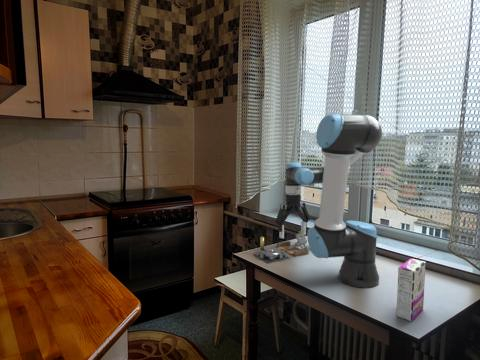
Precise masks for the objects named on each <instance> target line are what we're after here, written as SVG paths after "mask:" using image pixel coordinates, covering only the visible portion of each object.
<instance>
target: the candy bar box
mask: <svg viewBox="0 0 480 360" xmlns="http://www.w3.org/2000/svg"><path fill="white" fill-rule="evenodd" d="M426 263H427V262H426V261H424V260H421V259H415V258H409V259H408V260H406V261H405V262H403V263H402V264H401V265H400V266H399V267H398V268H397V269H398V271H397V273H398V274H397V295H396V296H397V297H396V317H398V318H400V319H402V320H403V319H404V320H406V321H409V322H413V321H414V320H415V319H416V317H417V316H418V315H420V313H421V312H422V311H423V310H424V299H425V298H424V297H425V282H426V281H425V279H426V265H427V264H426Z"/></svg>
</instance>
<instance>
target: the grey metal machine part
mask: <svg viewBox="0 0 480 360" xmlns="http://www.w3.org/2000/svg"><path fill="white" fill-rule="evenodd" d="M259 239H260V240H259V241H260V242H259V243H260V249H257V253H258V255H260V257H261V258H270V259H274V258H283V256H285V255H286V252H285V251H282V248H277V247H274V246H268V247H265V237H264V236H260V238H259Z"/></svg>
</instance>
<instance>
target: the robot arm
mask: <svg viewBox="0 0 480 360" xmlns="http://www.w3.org/2000/svg"><path fill="white" fill-rule="evenodd" d="M382 136H383V129H382V125H381V124H380V122H379V121H378V120H377V119H376V118H375V117H373V116H371V115H369V114H364V113H363V114H347V113H332V114H327V115H325V116H323V118H322V119H321V120H320V122H319V124H318V126H317V128H316V136H315V138H316V143H317V146H318V147H319V148H321V150H320V151H321V153H322V154H323V155H324V165H323V167H321V166H320V167H303V166H302V163H301V162H293V161H292V162H286V164H285V168H284V169H285V189H284V190H285V199H284V200H285V204H280V206H279V210H278V213H277V215H276V218H275V220H274V224H276V225H278V232H279V238H280V239H285V225H284V223H285V221H286V220H287V219H288V217H289V216H290V215H291V214H294V213H295V214H297V215H298V216H299V218H300V219H301V222H300V225H301V226H300V231H301V232H303V234H304V236H307V237H306V238H307V239H306V240H307V245H308V246H309V247H310V249H309V250H310V251H311V253H312V254H313V256H315V258H318V259H329V258H340V257H343V261H342V262H341V266H340V269H339V271H338V279H339V280H340V282H342V283H344V284H346V285H349V286H351V287H356V288H357V287H358V288H366V289H367V288H373V287H377V286H378V285H379V284H380V275H379V273H378V269H377V265H376V253H377V238H378V235H377V234H378V233H377V232H378V231H377V228H376V227H375V225H373V224H371V223H367V222H364V221H359V220H346V221H345V222H344V220H343V218H344V212H345V205H346V204H345V202H346V195H347V186H348V178H349V170H350V169H349V168H350V166H351V165H353V164H354V163H355V162H357V160H358V159H360V158H361V157H362V156H363V155H364V154H369V153H371V152H372V151H373V150H374V149H376V148H377V146H379V143H380V141H381V140H382V138H383V137H382ZM312 184H315V185H318V184H322V188H321V196H320V205H319V206H320V207H319V215H318V218H316V219H315V220H314V224H313V227H309V228H308V230H307V227H308V226H307V225H308V223H309V221H310V220H311V218H310V215H309V213H308V210H307V206H306V203H305V202H303V201H302V195H301V193H302V186H307V185H312ZM301 201H302V202H301ZM306 231H307V232H306Z"/></svg>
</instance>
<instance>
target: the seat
mask: <svg viewBox="0 0 480 360" xmlns="http://www.w3.org/2000/svg"><path fill="white" fill-rule="evenodd" d="M292 245H293V244H291V241H288V240H287V241H282V242H278V243H276V248H282V251H285V254H289V255H290V256H292V257H295V258H298V257H301V256H306V255H309V250H308V249H304V248H303V249H304V250H303V249H301V248H299V247H295V248H293V249H291V250H288V247H290V246H292Z"/></svg>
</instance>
